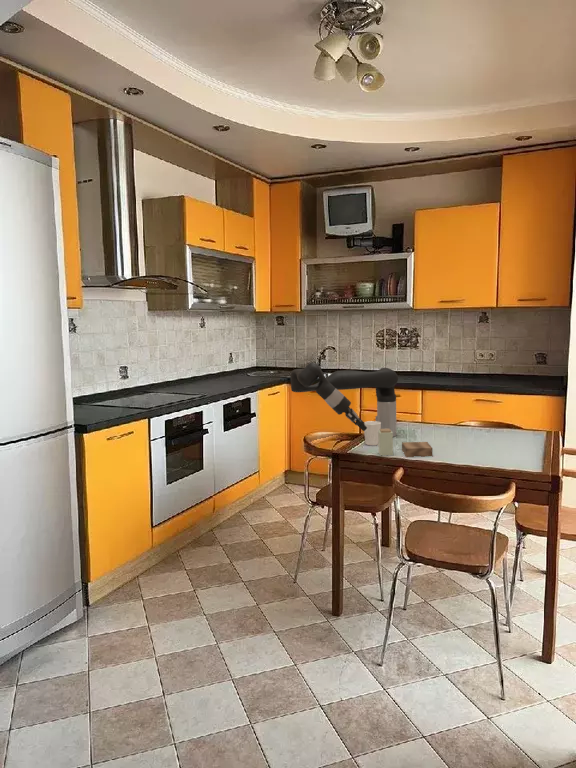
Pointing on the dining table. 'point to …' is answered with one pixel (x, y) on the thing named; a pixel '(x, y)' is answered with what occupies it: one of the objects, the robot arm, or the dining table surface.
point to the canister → (385, 442)
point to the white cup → (372, 432)
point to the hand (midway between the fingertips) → (364, 427)
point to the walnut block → (416, 449)
